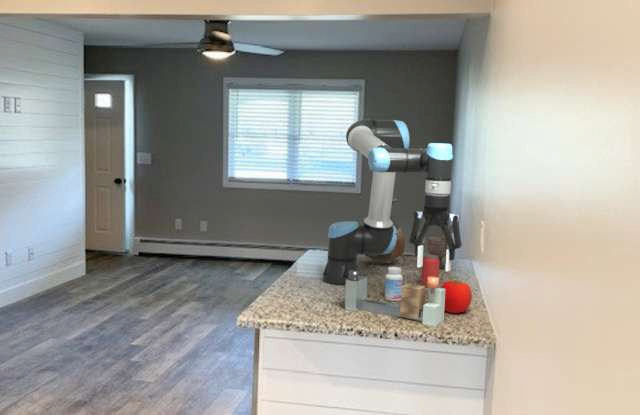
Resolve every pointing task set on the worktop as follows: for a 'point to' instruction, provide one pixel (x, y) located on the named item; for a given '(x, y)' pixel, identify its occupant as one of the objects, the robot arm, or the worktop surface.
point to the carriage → (412, 300)
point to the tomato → (456, 296)
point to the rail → (357, 300)
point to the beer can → (429, 268)
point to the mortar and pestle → (438, 246)
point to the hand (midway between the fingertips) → (433, 268)
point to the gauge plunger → (433, 283)
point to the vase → (397, 249)
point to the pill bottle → (393, 284)
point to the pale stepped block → (434, 308)
